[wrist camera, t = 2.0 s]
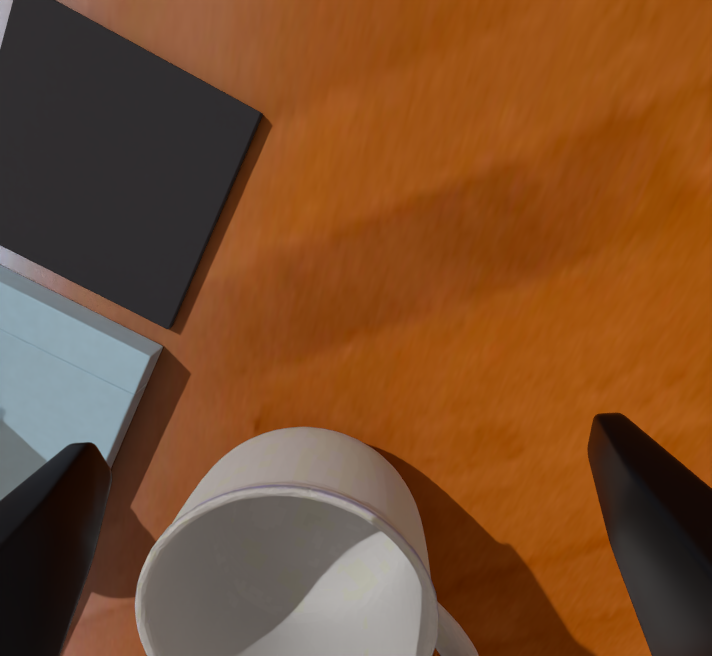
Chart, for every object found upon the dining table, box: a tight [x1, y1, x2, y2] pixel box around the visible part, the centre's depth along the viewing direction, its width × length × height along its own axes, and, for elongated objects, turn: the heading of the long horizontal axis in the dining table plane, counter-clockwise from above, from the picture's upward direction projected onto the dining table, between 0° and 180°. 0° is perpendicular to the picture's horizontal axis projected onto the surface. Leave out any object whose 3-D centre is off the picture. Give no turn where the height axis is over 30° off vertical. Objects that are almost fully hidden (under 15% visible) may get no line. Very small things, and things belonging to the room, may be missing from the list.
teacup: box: [135, 427, 479, 656], centre depth 23 cm, size 14×11×8 cm
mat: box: [0, 0, 263, 329], centre depth 22 cm, size 10×10×1 cm
